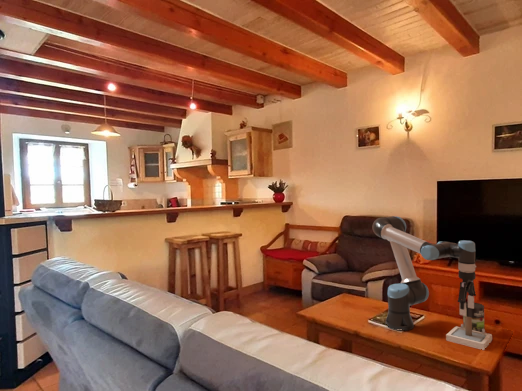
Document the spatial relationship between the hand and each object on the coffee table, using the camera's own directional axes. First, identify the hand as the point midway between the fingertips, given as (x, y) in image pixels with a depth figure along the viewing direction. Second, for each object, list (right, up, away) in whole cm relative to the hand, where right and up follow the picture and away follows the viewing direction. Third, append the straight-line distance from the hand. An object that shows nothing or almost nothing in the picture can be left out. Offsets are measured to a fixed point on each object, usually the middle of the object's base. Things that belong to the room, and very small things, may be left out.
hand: (466, 311), depth 181 cm
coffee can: (+11, -15, +12) cm, 22 cm away
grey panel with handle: (+1, -14, 0) cm, 14 cm away
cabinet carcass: (+1, -15, 0) cm, 15 cm away
